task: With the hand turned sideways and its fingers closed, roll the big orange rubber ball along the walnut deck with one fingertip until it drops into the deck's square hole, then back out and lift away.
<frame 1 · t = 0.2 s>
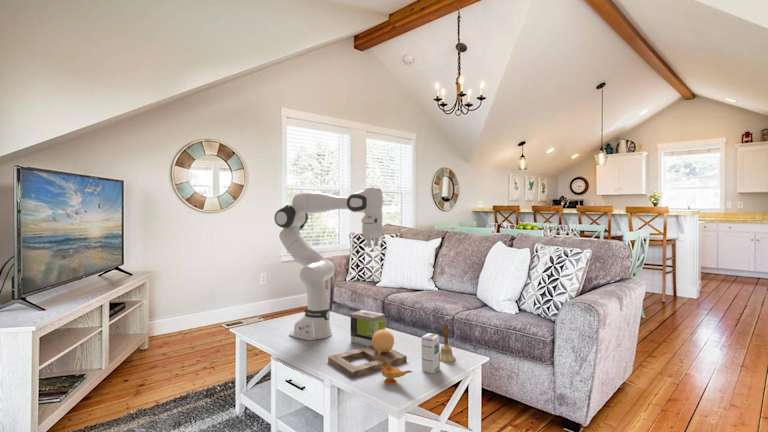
hand: (372, 247, 197), 48 cm above the table, tool pointing down, fingers open, 8 cm apart
magic lamp: (393, 383, 153), on the table
ball: (383, 341, 178), point 7 cm above the table, touching deck
syrup box: (430, 370, 165), on the table
deck: (367, 361, 173), on the table
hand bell: (446, 359, 176), on the table
tea box: (367, 343, 198), on the table
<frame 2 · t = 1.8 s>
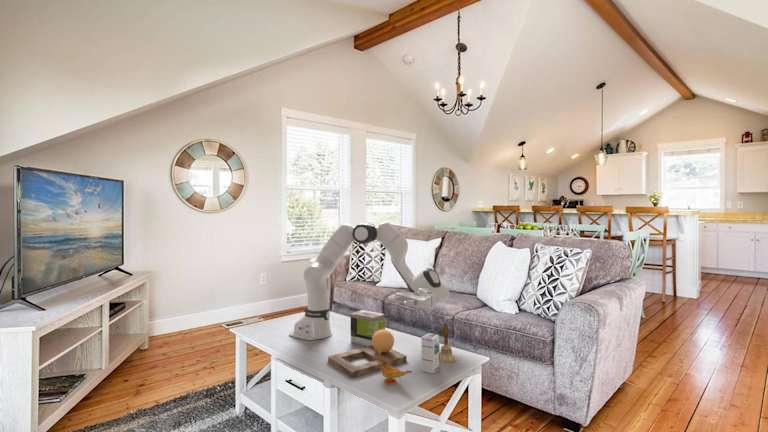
hand: (399, 301, 182), 24 cm above the table, tool horizontal, fingers open, 6 cm apart
nothing on the table moved.
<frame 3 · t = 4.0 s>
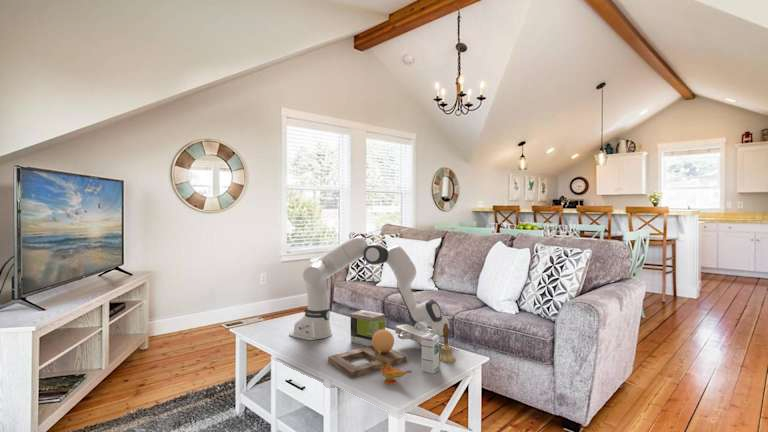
hand: (399, 336, 183), 8 cm above the table, tool horizontal, fingers closed
nothing on the table moved.
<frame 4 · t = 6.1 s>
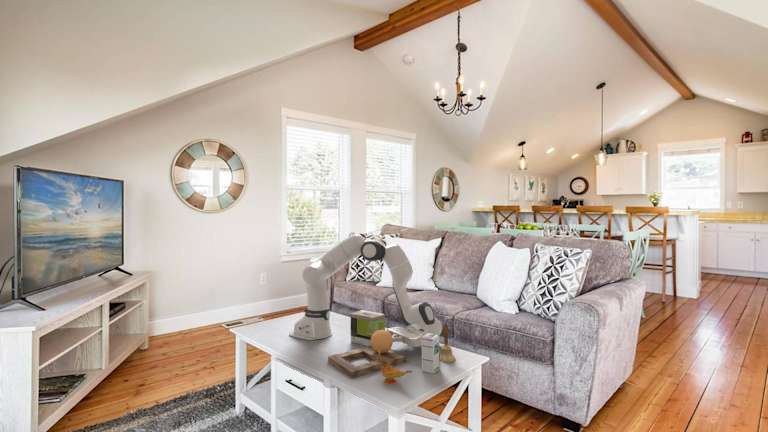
hand: (391, 339, 180), 7 cm above the table, tool horizontal, fingers closed
ball: (381, 341, 177), point 7 cm above the table, tilted 9°, touching deck, gripper
everything else where it was.
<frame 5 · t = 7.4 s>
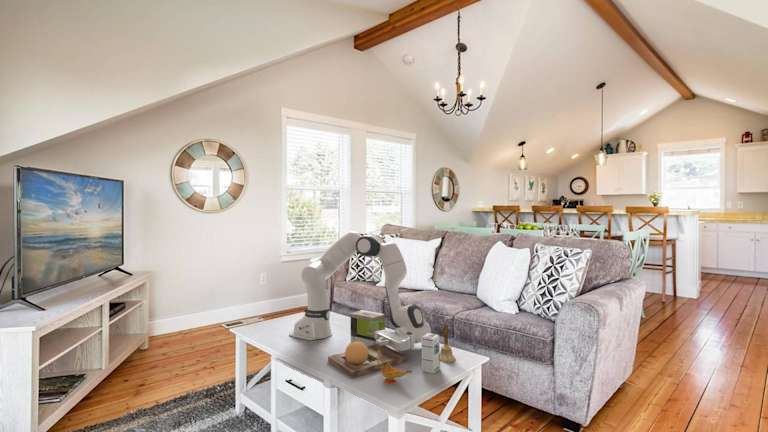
hand: (377, 343, 175), 7 cm above the table, tool horizontal, fingers closed
ball: (356, 353, 169), point 5 cm above the table, tilted 172°
everything else where it was.
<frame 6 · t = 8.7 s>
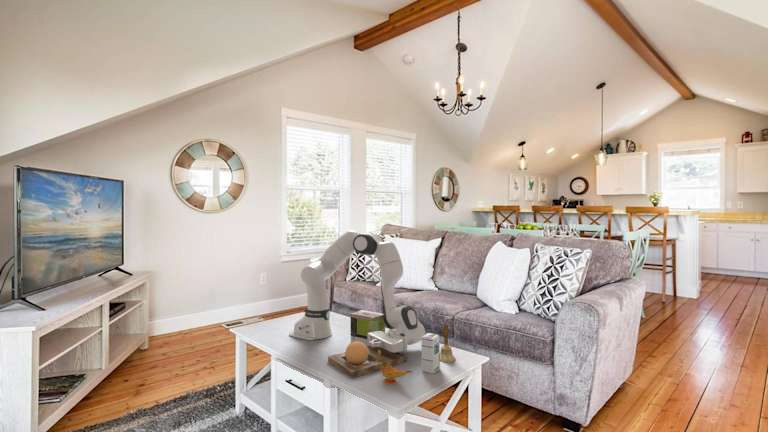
hand: (370, 344, 173), 8 cm above the table, tool horizontal, fingers closed
nothing on the table moved.
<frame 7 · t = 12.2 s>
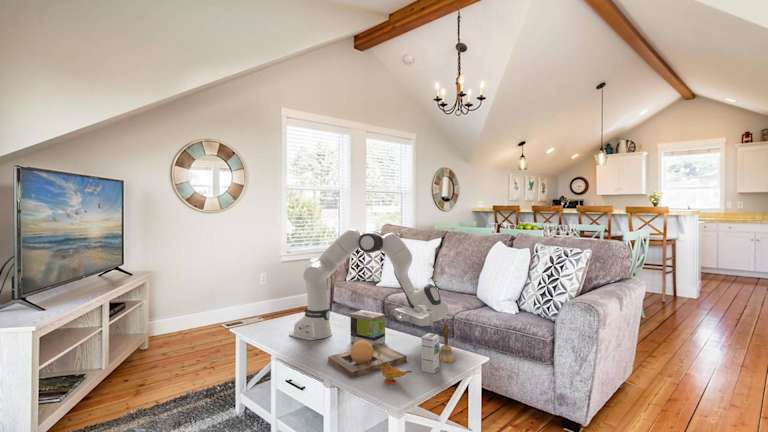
hand: (398, 318, 182), 16 cm above the table, tool horizontal, fingers closed
ball: (362, 352, 171), point 5 cm above the table, tilted 140°
everything else where it was.
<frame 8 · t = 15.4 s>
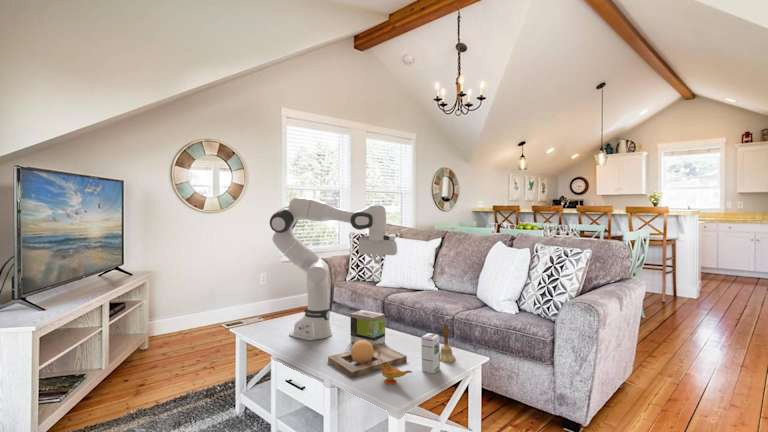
hand: (377, 263, 201), 39 cm above the table, tool pointing down, fingers closed
nothing on the table moved.
at the end: ball 1.3 cm from the target spot on the deck, point 5.0 cm above the deck's base; the gripper is holding nothing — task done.
